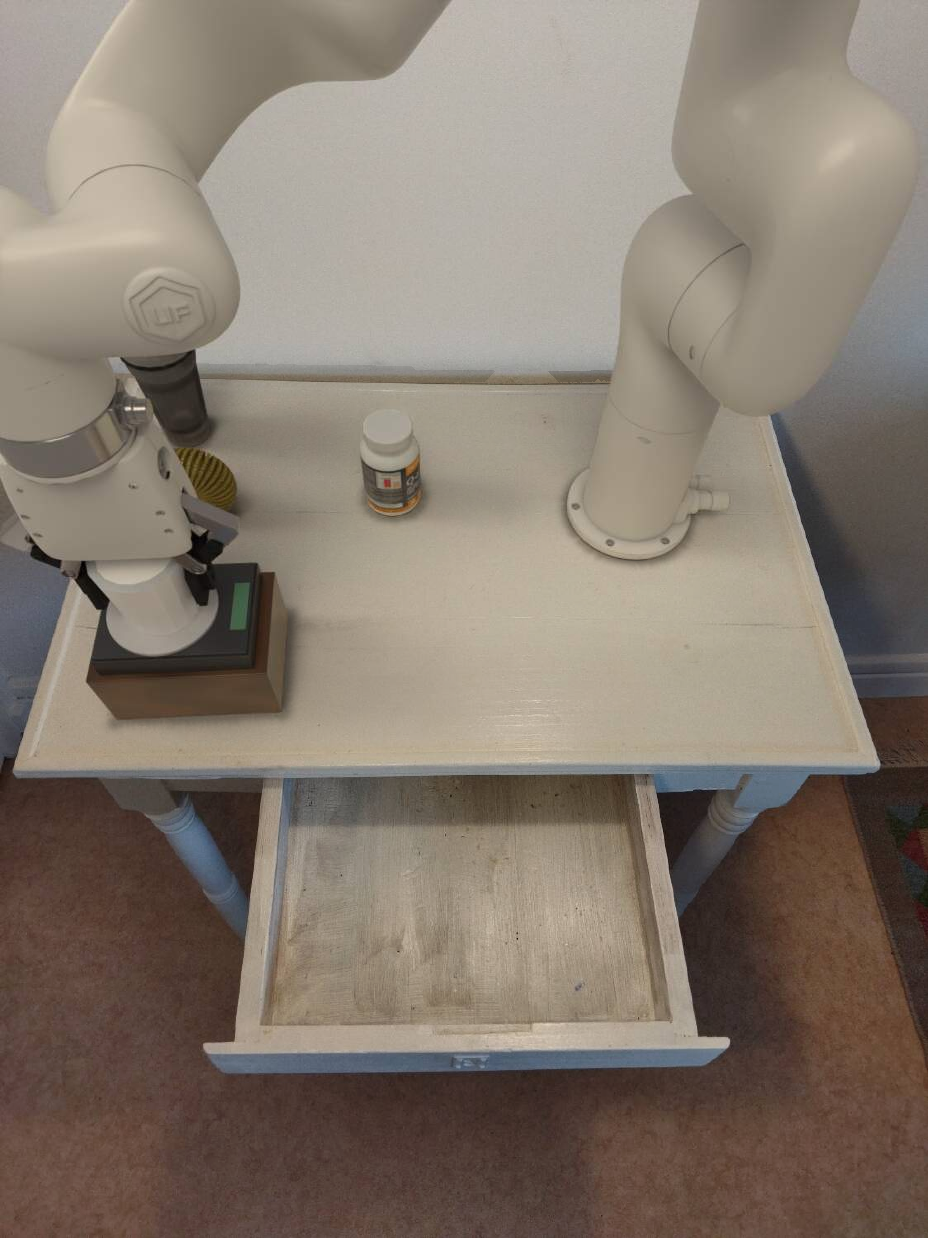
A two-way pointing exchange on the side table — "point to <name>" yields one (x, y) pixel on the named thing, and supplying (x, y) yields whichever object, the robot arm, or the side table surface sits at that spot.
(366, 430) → the pill bottle
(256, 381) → the side table surface
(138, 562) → the white cup
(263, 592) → the walnut riser
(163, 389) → the beverage cup
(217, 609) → the kitchen scale
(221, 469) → the sculpture
